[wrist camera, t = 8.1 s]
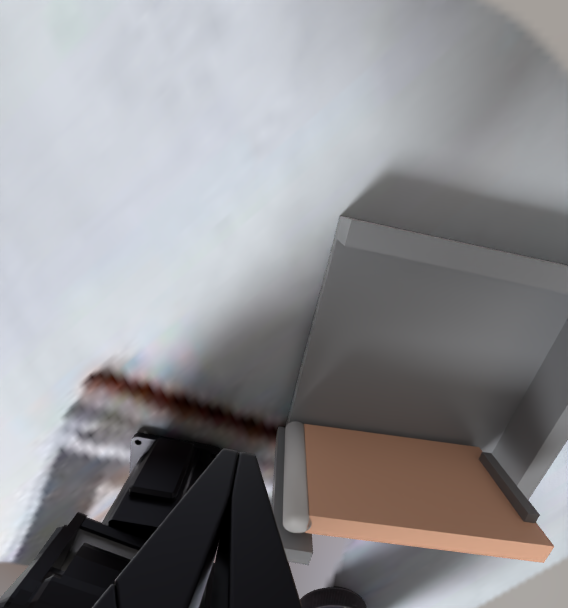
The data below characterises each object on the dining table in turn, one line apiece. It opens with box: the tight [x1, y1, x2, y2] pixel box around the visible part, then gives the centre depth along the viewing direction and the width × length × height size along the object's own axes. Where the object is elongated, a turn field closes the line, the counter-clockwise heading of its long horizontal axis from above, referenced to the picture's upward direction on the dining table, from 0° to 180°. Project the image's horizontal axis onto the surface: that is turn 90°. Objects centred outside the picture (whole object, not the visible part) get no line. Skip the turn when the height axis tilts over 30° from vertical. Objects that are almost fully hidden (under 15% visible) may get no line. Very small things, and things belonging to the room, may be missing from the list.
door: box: [283, 421, 554, 563], centre depth 18 cm, size 13×2×6 cm, turn 82°
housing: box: [272, 216, 568, 565], centre depth 16 cm, size 16×16×8 cm
